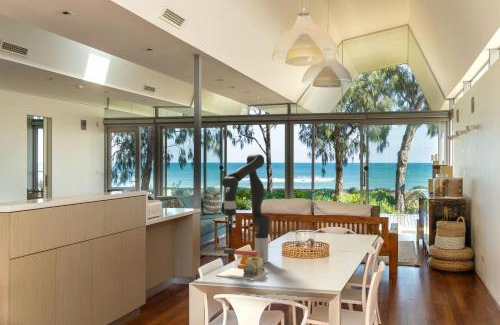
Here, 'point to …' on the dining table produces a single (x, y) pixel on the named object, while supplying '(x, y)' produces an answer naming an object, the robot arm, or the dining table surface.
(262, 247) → the robot arm
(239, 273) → the base plate
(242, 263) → the bracket
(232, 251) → the lever
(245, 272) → the valve
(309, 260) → the dining table surface
